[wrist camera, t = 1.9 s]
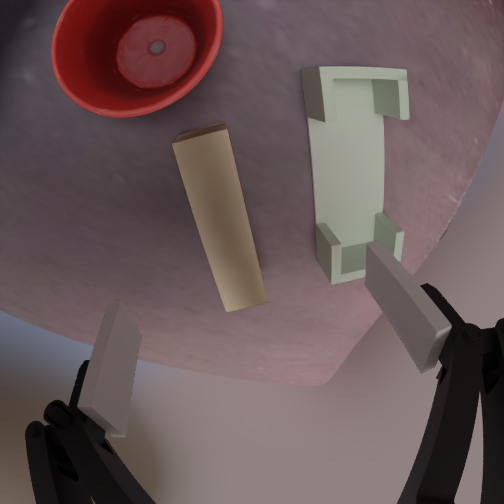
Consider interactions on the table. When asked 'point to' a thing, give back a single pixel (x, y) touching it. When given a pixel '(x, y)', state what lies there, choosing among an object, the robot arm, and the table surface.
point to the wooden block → (220, 214)
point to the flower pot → (134, 52)
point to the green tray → (351, 162)
